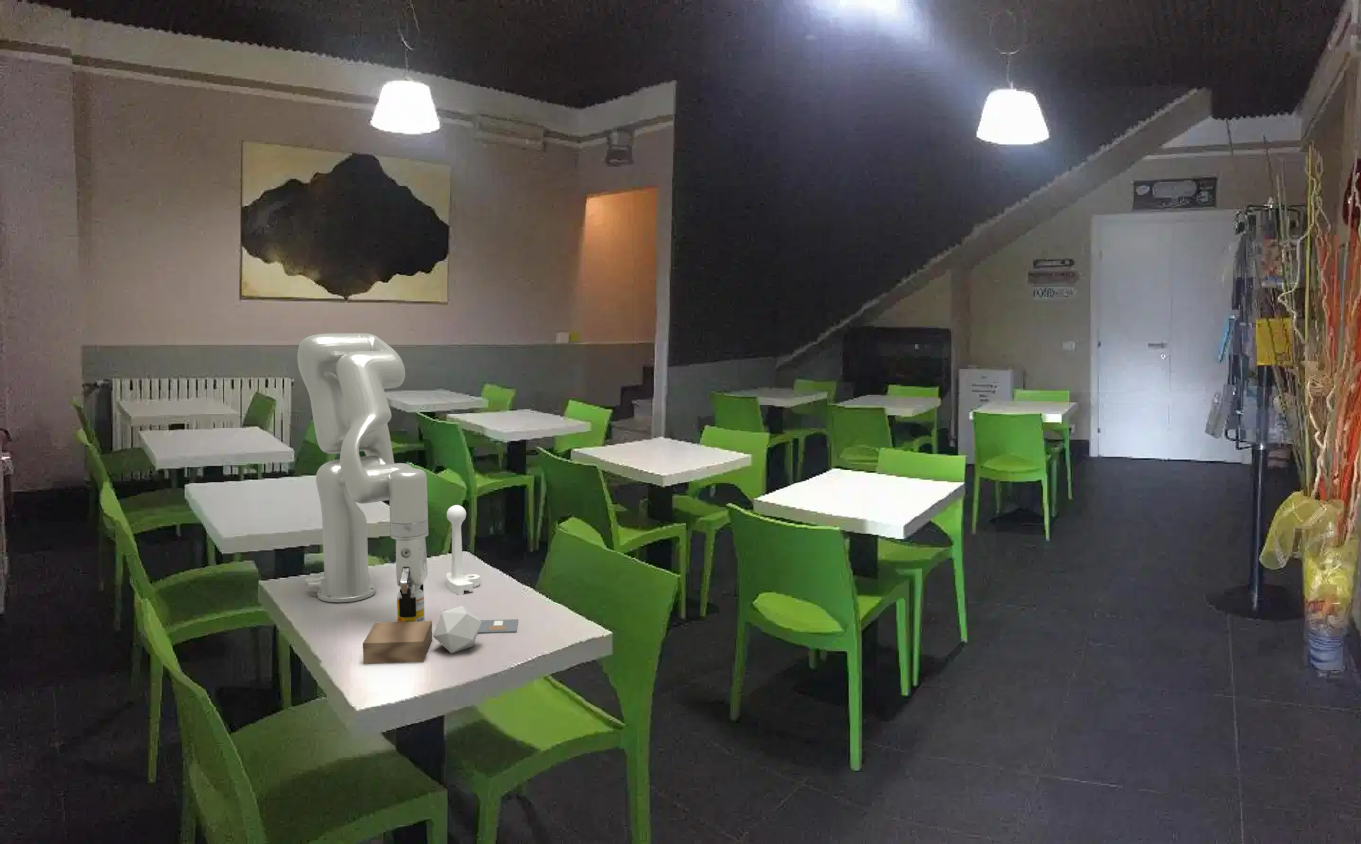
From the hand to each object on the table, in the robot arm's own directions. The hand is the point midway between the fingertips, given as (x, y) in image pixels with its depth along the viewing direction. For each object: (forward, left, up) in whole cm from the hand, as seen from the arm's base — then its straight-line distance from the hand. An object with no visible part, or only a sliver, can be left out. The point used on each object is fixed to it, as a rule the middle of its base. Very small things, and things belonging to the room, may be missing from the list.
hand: (412, 609), depth 187 cm
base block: (0, -14, -4) cm, 14 cm away
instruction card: (+18, -2, -4) cm, 18 cm away
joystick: (+8, +26, -4) cm, 28 cm away
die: (+11, -12, -4) cm, 17 cm away
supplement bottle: (0, 0, -4) cm, 4 cm away
